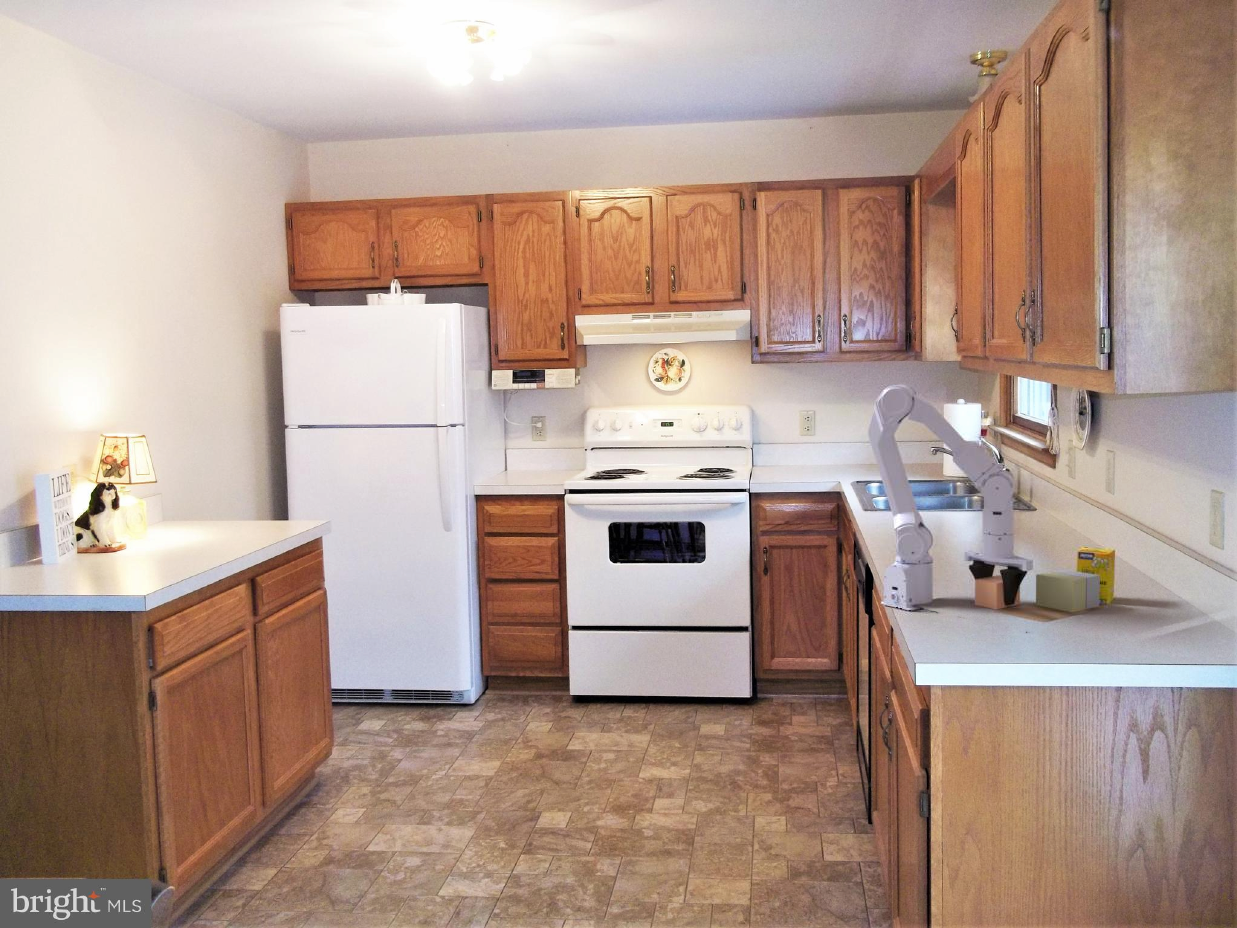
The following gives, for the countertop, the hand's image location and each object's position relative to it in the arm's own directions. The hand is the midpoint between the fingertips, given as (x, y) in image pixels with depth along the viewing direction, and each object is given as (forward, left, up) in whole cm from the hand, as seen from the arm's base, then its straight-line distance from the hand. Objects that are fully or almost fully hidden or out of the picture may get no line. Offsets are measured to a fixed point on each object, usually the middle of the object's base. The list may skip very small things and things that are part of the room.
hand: (997, 602), depth 214 cm
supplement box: (+18, -9, -2) cm, 20 cm away
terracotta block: (0, 0, -2) cm, 2 cm away
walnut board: (+4, -9, -1) cm, 10 cm away
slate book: (+11, -9, 0) cm, 14 cm away
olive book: (+7, -9, 0) cm, 11 cm away
